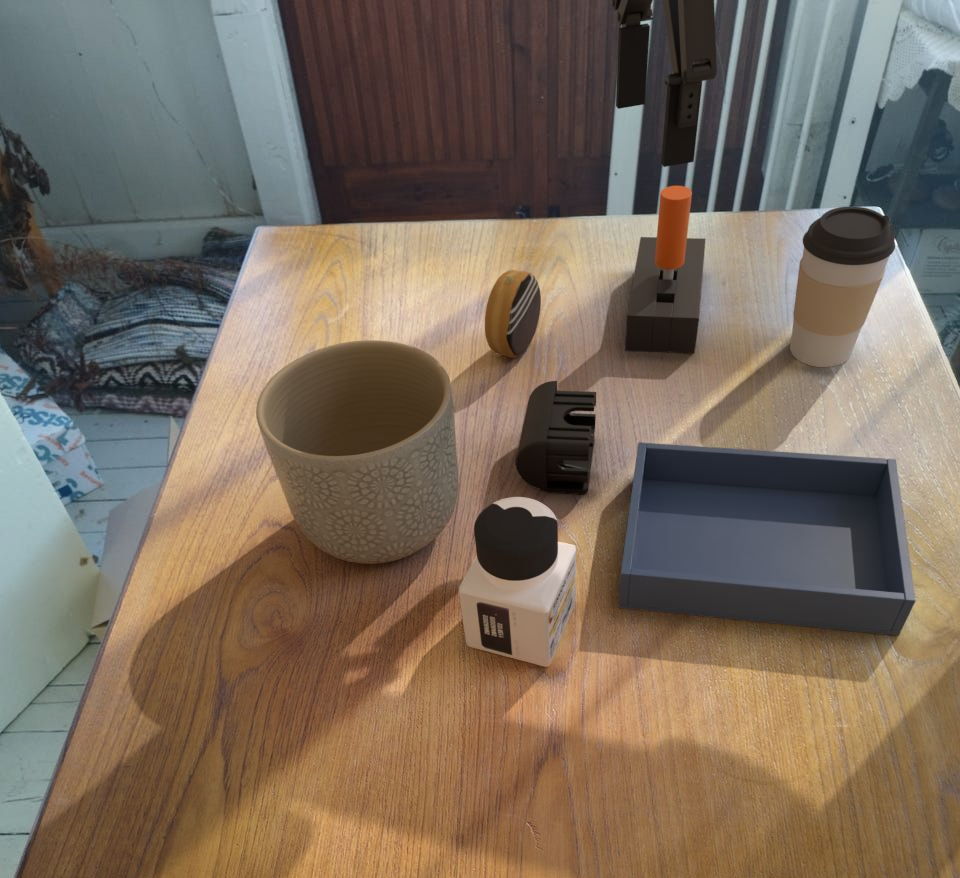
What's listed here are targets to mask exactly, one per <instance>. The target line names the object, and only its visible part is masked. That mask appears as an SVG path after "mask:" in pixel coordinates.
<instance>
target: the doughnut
mask: <svg viewBox="0 0 960 878" xmlns="http://www.w3.org/2000/svg"><path fill="white" fill-rule="evenodd" d="M541 305H542V295H541V288H540V284H539V282H538V280H537V278H536V276H535V275H533V273H531V272H529V271H525V270H517V269H509V270H507V271H505V272H504V273H502V274H501V275H500V276H499V277H498V278H497V280H496V281H495V283H494V284H493V286H492V288H491V290H490V293H489V296H488V298H487V302H486V308H485V314H484V334H485V339H486V343H487V345H488V347H489V348H490V350H491V351H493V353H494V354H497V355H501V356H505V357H507V358H514V359H515V358H517V357H520V356H521V355H523V354H524V353H525V352H526V351H527V349H528V348H529V347H530V345H531V343H532V341H533V340H534V337H535V334H536V331H537V328H538V325H539V320H540V315H541Z"/></svg>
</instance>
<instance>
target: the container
mask: <svg viewBox="0 0 960 878" xmlns="http://www.w3.org/2000/svg"><path fill="white" fill-rule="evenodd" d="M473 533H474V543H475V553H476V555H475V557H474V559H473V561H472V562H471V564H470V566H469V568H468V570H467V572H466V574H465V576H464V577H463V580H462V581H461V583H460V584H459V587H458V595H459V603H460V610H461V617H462V622H463V624H462V625H463V630H464V637H465V643H466V645H467V647H468V648H472V649H476V650H480V651H483V652H487V653H491V654H496V655H499V656H503V657H507V658H510V659H514V660H517V661H520V662H521V661H522V662H524V663H529V664H533V665H536V666H539V667H540V666H541V667H545V668H547V667H550V665H551V663H552V661H553V658H554V656H555V653H556V651H557V649H558V647H559V644H560V641H561V639H562V637H563V635H564V632H565V630H566V628H567V625H568V623H569V620H570V619H571V616H572V613H573V611H574V608H575V606H576V595H577V594H576V593H577V592H576V588H577V586H576V584H577V583H576V582H577V546H576V545H575V544H572V543H567V542H563V541H559V523H558V519H557V516H556V515H555V513H554V512H553V511H552V509H550V507H549V506H547V505H545V504H544V503H543V502H540V501H538V500H536V499H533V498H529V497H524V496H511V497H506V498H502V499H498V500H496V501H494V502H492V503H490V504H489V505H487V506H486V507H485V508H484V509H483V510H482V511H481V512H479V514H478V516H477V517H476V519H475V522H474V525H473Z"/></svg>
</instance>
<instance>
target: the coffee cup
mask: <svg viewBox="0 0 960 878" xmlns="http://www.w3.org/2000/svg"><path fill="white" fill-rule="evenodd" d="M895 238H896V233H895V231H894V230H893V228H892V227H891V225H890V218H889V216H888V215H883V214H881V213H880V212H878V211H876V210H874V209H871V208H868V207H863V206H853V205H852V206H851V205H849V206H840V207H835V208H832V209H829V210H828V211H825V212H824V213H823V214H822V215H821V217H819V218H817V219H815V220H814V221H813V222H812V223H811V224H810V225H809V227H808V229H807V231H806V232H805V233H804V234H803V237H802V244H803V245H802V246H803V250H802V257H801V259H800V261H799V264H798V265H799V266H798V273H797V274H798V275H797V283H796V290H795V298H794V305H793V323H792V328H791V329H792V330H791V337H790V344H789V351H790V353H791V355H792V356H793V357H794V358H795V359H796V360H797V361H799V362H800V363H803V364H805V365H808V366H811V367H816V368H831V367H837V366H840V365H842V364H844V363H846V362H847V361H849V359H850V357H851V356H852V353H853V350H854V348H855V346H856V343H857V340H858V339H859V335H860V333H861V331H862V327H863V326H864V325H865V323H866V320H867V318H868V316H869V313H870V310H871V308H872V306H873V303H874V300H875V298H876V296H877V293H878V292H879V291H878V290H879V288H880V286H881V283H882V281H883V278H884V276H885V273H886V266H887V264H888V262H889V259H890V256H891V255H892V254H893V253H894V251H895V249H896V242H895V240H896V239H895Z"/></svg>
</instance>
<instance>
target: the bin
mask: <svg viewBox="0 0 960 878" xmlns="http://www.w3.org/2000/svg"><path fill="white" fill-rule="evenodd" d="M635 457H636V459H635V466H634V474H633V480H632V487H631V494H630V501H629V502H630V503H629V509H628V518H627V524H626V533H625V539H624V546H623V553H622V561H621V568H620V569H621V570H620V577H619V578H620V579H619V591H618V592H619V593H618V603H617V604H618V605H617V607H618V609H620V608H621V609H629V610H638V611H647V612H650V611H651V612H658V613H660V612H661V613H668V614H677V615H688V616H690V615H691V616H697V617H698V616H700V617H707V618H718V619H728V620H738V621H747V622H758V623H768V624H777V625H778V624H779V625H789V626H798V627H807V628H808V627H809V628H818V629H826V630H827V629H829V630H836V631H846V632H857V633H868V634H877V635H885V636H886V635H888V636H895V637H897V636H898V637H899V636H900V635H901V632H902V630H903V628H904V627H905V624H906V622H907V620H908V618H909V616H910V613H911V611H912V609H913V608H914V605H915V603H916V595H915V587H914V580H913V572H912V566H911V560H910V559H911V558H910V551H909V545H908V537H907V529H906V524H905V516H904V509H903V502H902V501H903V500H902V495H901V488H900V479H899V473H898V465H897V460H896V459H895V458H882V457H881V458H880V457H866V456H854V455H853V456H850V455H835V454H820V453H819V454H818V453H805V452H790V451H775V450H763V449H762V450H759V449H745V448H731V447H714V446H699V445H683V444H668V443H655V442H654V443H653V442H640V441H639V442H638V443H637V450H636V456H635Z"/></svg>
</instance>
